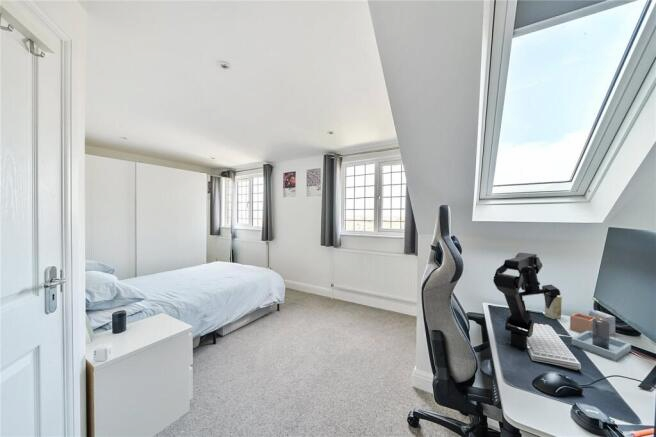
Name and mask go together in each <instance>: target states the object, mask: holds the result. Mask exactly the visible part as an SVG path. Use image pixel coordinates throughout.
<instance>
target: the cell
mask: <svg viewBox="0 0 656 437" xmlns="http://www.w3.org/2000/svg"><path fill="white" fill-rule="evenodd" d="M609 332H610V322H608V321H606V320H605V319H602V318H598V319H597V318H594V319H593V333H592V345H595V346H598V347H601V348H604V349H606V350H609V337H610V335H609Z"/></svg>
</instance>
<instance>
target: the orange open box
mask: <svg viewBox="0 0 656 437" xmlns="http://www.w3.org/2000/svg"><path fill="white" fill-rule="evenodd" d="M569 316H570V319H569V326H570V327H569V329H570V330H571V331H574V332H578V333H579V334H581V333H583V332H586V331H591V332H593V319H594V317H591V316H589V315H586V314H582V313H579V312H576V313H572V314H570V315H569Z"/></svg>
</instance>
